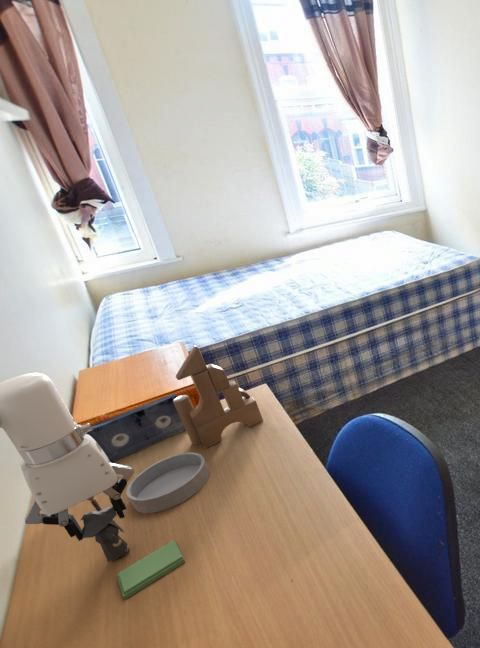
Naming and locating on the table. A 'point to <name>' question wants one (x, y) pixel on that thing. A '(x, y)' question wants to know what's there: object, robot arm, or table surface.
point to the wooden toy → (212, 402)
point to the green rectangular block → (149, 569)
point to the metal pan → (168, 482)
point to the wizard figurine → (104, 531)
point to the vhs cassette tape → (138, 428)
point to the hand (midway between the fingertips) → (101, 524)
